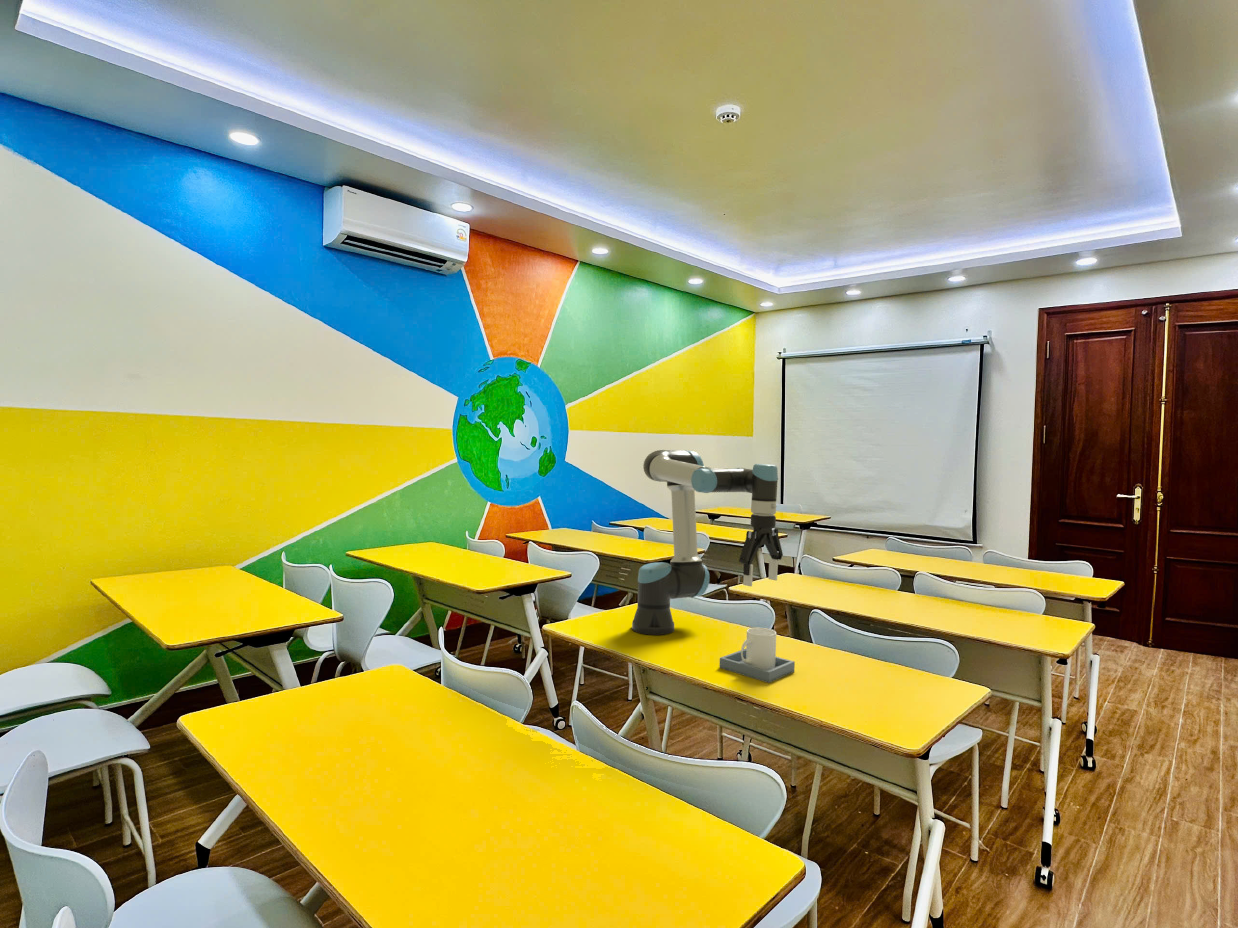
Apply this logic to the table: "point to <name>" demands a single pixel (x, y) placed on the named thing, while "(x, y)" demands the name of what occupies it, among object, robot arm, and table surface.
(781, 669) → the tray
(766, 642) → the mug
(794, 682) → the table surface
